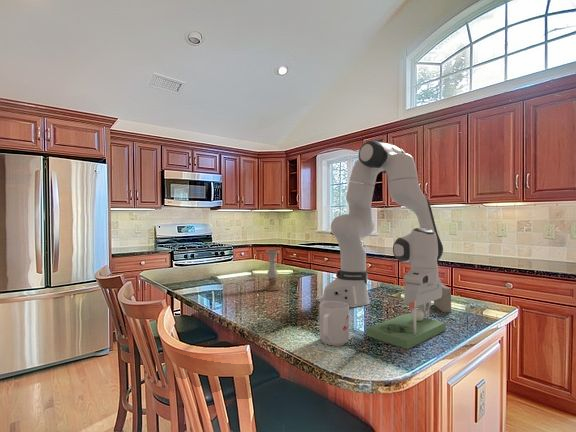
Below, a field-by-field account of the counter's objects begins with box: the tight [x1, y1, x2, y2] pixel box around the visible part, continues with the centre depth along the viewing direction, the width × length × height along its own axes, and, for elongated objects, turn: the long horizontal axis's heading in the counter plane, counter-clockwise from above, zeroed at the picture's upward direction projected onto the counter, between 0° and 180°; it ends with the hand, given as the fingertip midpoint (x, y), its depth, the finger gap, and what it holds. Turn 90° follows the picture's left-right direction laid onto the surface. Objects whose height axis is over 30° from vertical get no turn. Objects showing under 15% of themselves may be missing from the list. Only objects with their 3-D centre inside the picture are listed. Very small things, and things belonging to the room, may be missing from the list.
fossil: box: [433, 282, 452, 313], centre depth 136 cm, size 12×4×10 cm, turn 173°
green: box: [366, 301, 446, 350], centre depth 107 cm, size 24×14×12 cm, turn 130°
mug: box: [318, 301, 350, 347], centre depth 98 cm, size 12×9×11 cm
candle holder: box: [263, 249, 282, 292], centre depth 172 cm, size 9×9×20 cm
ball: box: [411, 308, 425, 321], centre depth 111 cm, size 4×4×4 cm
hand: (424, 315), depth 114 cm, fingers closed
